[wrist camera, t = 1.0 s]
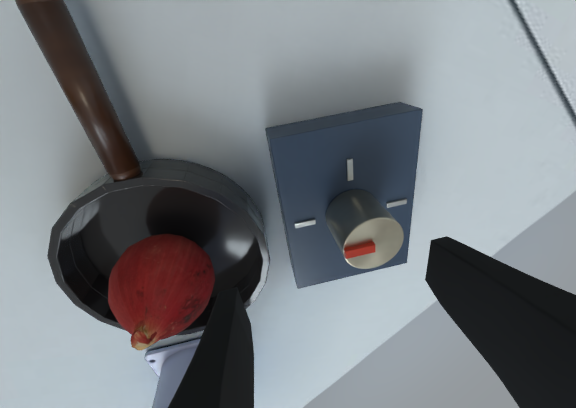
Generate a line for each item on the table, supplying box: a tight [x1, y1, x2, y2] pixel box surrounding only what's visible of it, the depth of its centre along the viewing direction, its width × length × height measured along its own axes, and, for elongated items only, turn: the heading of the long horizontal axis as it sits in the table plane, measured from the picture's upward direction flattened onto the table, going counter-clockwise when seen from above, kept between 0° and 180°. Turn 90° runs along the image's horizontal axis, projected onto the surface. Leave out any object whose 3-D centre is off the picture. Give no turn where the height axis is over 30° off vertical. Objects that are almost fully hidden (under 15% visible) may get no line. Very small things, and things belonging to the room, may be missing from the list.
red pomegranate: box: [108, 234, 215, 350], centre depth 16 cm, size 6×6×8 cm
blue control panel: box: [265, 102, 423, 289], centre depth 19 cm, size 12×9×3 cm
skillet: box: [47, 159, 270, 335], centre depth 19 cm, size 13×13×3 cm
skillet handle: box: [15, 0, 141, 181], centre depth 13 cm, size 9×2×2 cm, turn 9°
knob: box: [326, 189, 404, 269], centre depth 16 cm, size 4×4×4 cm
